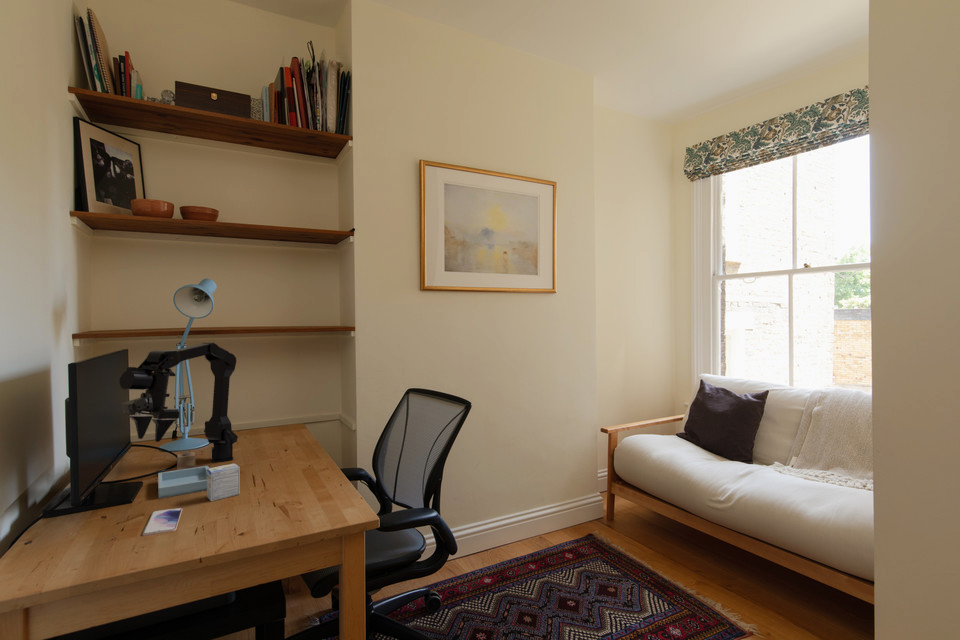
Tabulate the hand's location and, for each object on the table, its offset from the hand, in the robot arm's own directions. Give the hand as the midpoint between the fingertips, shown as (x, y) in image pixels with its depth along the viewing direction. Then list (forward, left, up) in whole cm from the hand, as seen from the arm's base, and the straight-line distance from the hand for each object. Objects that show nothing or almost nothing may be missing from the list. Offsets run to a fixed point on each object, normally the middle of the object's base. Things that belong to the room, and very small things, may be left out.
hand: (148, 440), depth 149 cm
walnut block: (-10, -9, -15) cm, 20 cm away
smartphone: (-3, +33, -15) cm, 36 cm away
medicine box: (-18, +22, -15) cm, 32 cm away
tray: (-9, +6, -15) cm, 18 cm away
